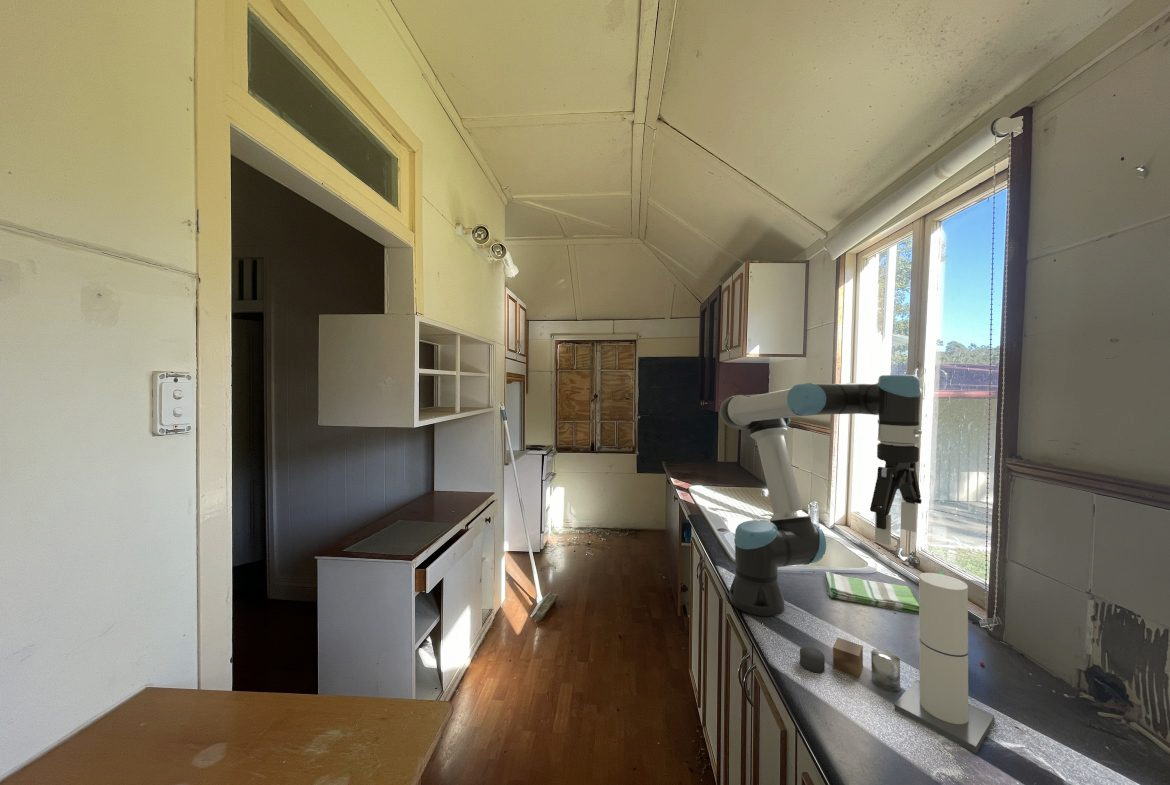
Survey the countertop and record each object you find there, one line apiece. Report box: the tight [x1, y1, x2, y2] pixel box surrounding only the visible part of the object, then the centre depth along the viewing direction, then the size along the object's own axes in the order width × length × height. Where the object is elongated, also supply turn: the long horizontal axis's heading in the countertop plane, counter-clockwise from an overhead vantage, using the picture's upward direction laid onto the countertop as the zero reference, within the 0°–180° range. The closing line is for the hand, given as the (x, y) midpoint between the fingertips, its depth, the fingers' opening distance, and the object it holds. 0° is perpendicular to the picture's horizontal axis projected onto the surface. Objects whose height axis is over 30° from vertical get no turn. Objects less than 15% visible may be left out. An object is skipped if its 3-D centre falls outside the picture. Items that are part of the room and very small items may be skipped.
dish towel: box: [823, 571, 919, 615], centre depth 128 cm, size 17×23×4 cm
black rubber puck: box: [799, 646, 826, 674], centre depth 95 cm, size 5×5×3 cm
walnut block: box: [832, 636, 864, 679], centre depth 94 cm, size 5×5×5 cm
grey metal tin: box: [870, 648, 901, 693], centre depth 89 cm, size 5×5×6 cm
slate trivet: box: [893, 679, 996, 754], centre depth 80 cm, size 12×12×1 cm
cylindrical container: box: [918, 572, 969, 724], centre depth 80 cm, size 7×7×25 cm
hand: (896, 536), depth 94 cm, fingers open, 13 cm apart
